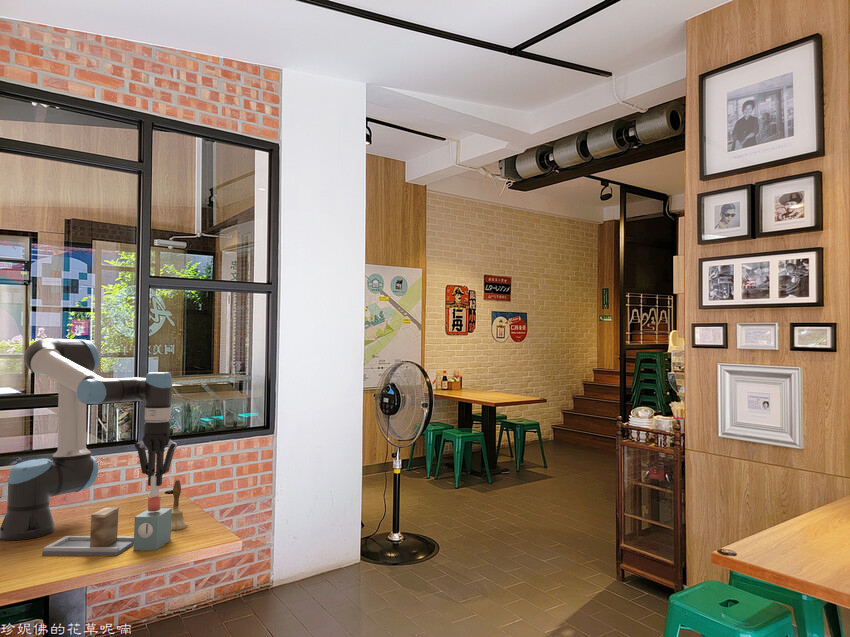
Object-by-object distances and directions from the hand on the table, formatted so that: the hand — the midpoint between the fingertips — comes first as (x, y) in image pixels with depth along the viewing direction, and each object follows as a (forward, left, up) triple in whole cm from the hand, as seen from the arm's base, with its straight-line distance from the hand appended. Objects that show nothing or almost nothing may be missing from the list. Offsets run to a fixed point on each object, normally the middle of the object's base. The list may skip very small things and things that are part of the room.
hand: (154, 496), depth 182 cm
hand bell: (-1, +19, -15) cm, 24 cm away
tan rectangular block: (-13, -4, -14) cm, 19 cm away
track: (-17, -4, -15) cm, 23 cm away
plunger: (0, 0, -5) cm, 5 cm away
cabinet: (0, 0, -15) cm, 15 cm away
